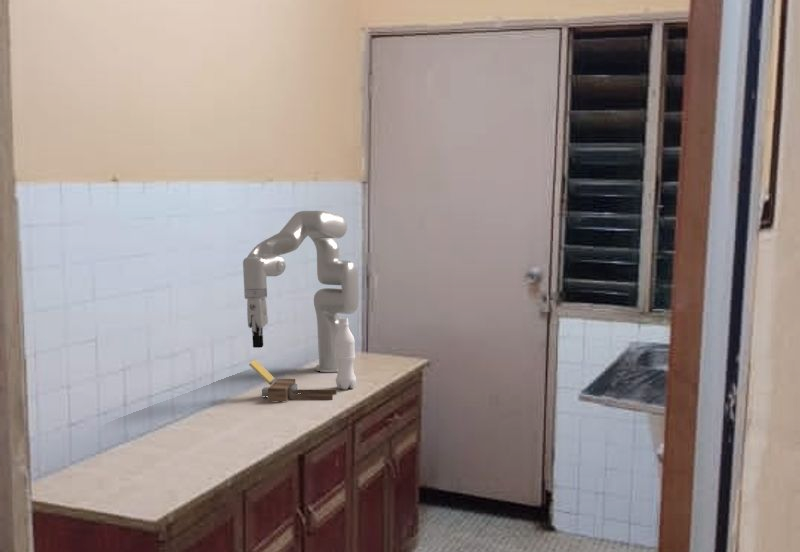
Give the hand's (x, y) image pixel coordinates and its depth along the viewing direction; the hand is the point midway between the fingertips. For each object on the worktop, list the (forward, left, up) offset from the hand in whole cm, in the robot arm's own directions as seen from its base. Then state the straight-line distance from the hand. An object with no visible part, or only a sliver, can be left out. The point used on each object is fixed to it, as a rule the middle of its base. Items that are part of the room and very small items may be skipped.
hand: (258, 346), depth 290 cm
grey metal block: (0, +6, -18) cm, 18 cm away
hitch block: (0, +15, -17) cm, 23 cm away
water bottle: (-12, +28, -18) cm, 35 cm away
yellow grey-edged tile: (0, +1, -9) cm, 9 cm away
